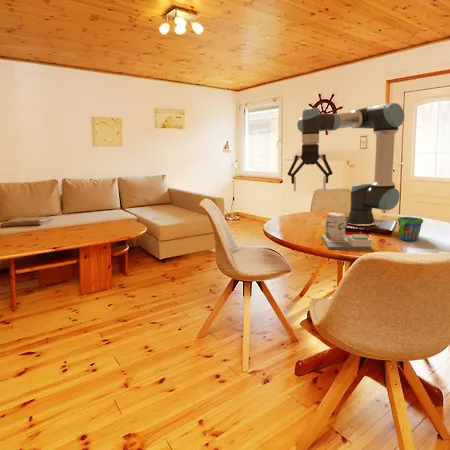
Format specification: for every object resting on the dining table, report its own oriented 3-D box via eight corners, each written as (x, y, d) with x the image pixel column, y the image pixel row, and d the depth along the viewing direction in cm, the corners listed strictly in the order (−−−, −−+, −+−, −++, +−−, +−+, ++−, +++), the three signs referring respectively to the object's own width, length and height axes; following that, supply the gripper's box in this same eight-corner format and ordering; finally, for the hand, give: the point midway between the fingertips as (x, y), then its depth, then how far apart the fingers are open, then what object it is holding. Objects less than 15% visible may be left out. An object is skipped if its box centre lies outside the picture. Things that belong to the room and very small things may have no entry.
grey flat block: (358, 237, 176) (359, 229, 175) (371, 249, 156) (371, 239, 155) (321, 237, 178) (321, 229, 177) (328, 249, 158) (329, 240, 157)
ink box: (325, 237, 174) (325, 213, 171) (333, 235, 176) (333, 212, 173) (337, 240, 166) (338, 215, 164) (345, 239, 168) (346, 214, 166)
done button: (364, 239, 162) (364, 234, 161) (367, 242, 156) (368, 237, 156) (351, 239, 163) (351, 234, 162) (354, 242, 157) (354, 237, 157)
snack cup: (408, 235, 178) (410, 215, 176) (429, 239, 169) (431, 218, 167) (388, 239, 171) (389, 218, 169) (408, 244, 162) (410, 222, 160)
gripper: (283, 144, 161) (282, 191, 165) (340, 142, 158) (338, 190, 162) (282, 144, 168) (282, 190, 172) (336, 143, 165) (335, 189, 170)
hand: (309, 190), depth 167 cm, fingers open, 13 cm apart
